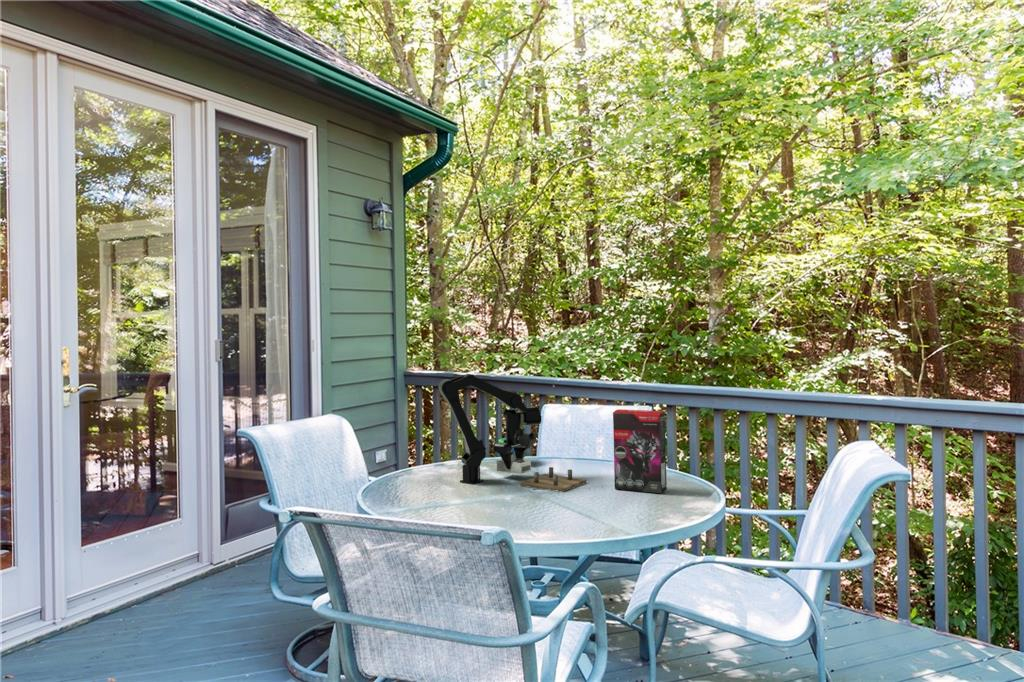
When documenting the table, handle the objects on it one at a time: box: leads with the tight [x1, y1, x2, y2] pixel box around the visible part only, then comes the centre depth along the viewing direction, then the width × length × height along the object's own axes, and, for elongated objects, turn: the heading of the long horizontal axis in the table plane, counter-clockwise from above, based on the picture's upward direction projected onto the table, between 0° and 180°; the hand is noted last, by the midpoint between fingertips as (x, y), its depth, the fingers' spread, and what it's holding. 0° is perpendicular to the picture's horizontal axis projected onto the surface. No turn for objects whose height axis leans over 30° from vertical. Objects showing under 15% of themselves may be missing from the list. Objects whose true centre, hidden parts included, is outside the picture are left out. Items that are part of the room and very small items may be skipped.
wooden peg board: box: [519, 466, 588, 492], centre depth 256 cm, size 16×18×5 cm
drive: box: [496, 458, 532, 475], centre depth 267 cm, size 6×11×4 cm, turn 55°
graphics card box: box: [612, 409, 668, 494], centre depth 245 cm, size 17×7×27 cm, turn 62°
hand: (514, 467), depth 267 cm, fingers closed on drive, 6 cm apart
